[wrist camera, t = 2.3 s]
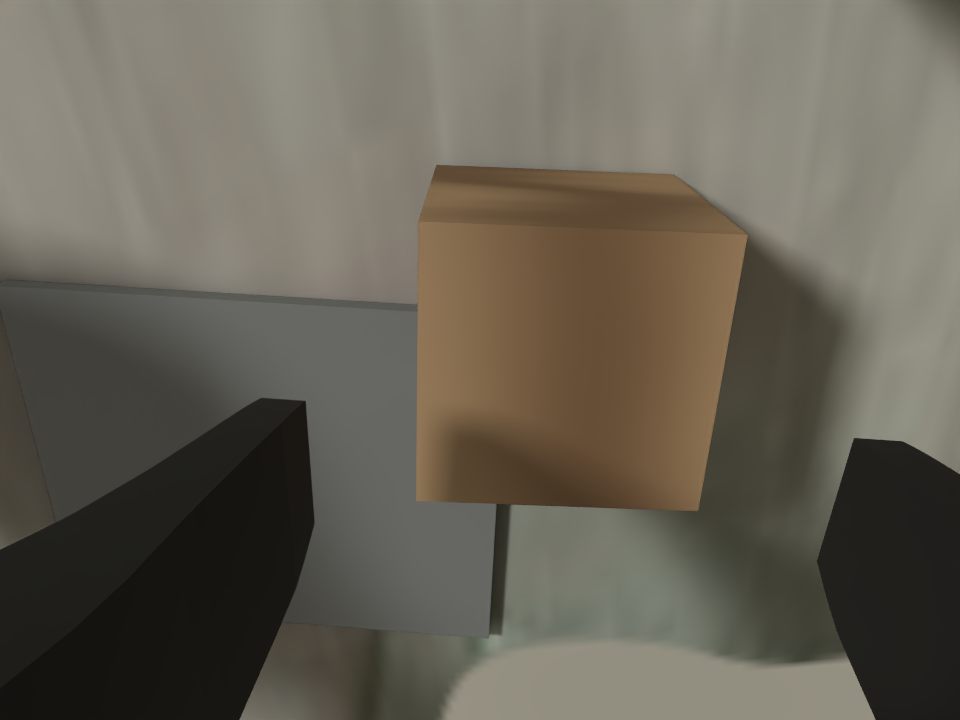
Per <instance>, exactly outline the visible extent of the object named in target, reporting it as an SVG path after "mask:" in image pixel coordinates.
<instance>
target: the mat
mask: <svg viewBox="0 0 960 720" xmlns="http://www.w3.org/2000/svg"><path fill="white" fill-rule="evenodd" d="M0 311H1V315H2V319H3V322H4V326H5V330H6V334H7V338H8V341H9V345H10V349H11V353H12V357H13V360H14V364H15V368H16V372H17V376H18V380H19V383H20V387H21V391H22V395H23V399H24V402H25V406H26V410H27V414H28V418H29V421H30V425H31V429H32V433H33V437H34V441H35V444H36V448H37V452H38V456H39V460H40V463H41V467H42V471H43V475H44V479H45V483H46V486H47V490H48V494H49V498H50V502H51V505H52V509H53V513H54V517H55V521H56V522H58V521H60V520H62V519H64V518H65V517H67V516H69V515H71V514H73V513H75V512H77V511H78V510H80V509H82V508H84V507H85V506H87V505H89V504H90V503H92V502H94V501H96V500H97V499H99V498H101V497H102V496H104V495H106V494H108V493H109V492H111V491H113V490H114V489H116V488H118V487H120V486H121V485H123V484H125V483H126V482H128V481H130V480H131V479H133V478H135V477H137V476H138V475H140V474H142V473H143V472H145V471H147V470H148V469H150V468H152V467H153V466H155V465H156V464H158V463H159V462H161V461H163V460H164V459H166V458H167V457H169V456H170V455H172V454H173V453H175V452H177V451H178V450H180V449H181V448H183V447H184V446H186V445H187V444H189V443H190V442H192V441H194V440H195V439H197V438H198V437H200V436H201V435H203V434H204V433H206V432H207V431H209V430H210V429H212V428H213V427H215V426H216V425H218V424H219V423H221V422H222V421H224V420H225V419H227V418H229V417H230V416H232V415H233V414H235V413H236V412H238V411H239V410H241V409H243V408H244V407H246V406H247V405H249V404H251V403H253V402H254V401H256V400H258V399H260V398H272V399H286V400H301V401H306V411H307V425H308V438H309V452H310V465H311V479H312V493H313V506H314V520H315V524H314V528H313V531H312V535H311V539H310V542H309V546H308V550H307V554H306V557H305V561H304V564H303V567H302V571H301V574H300V577H299V581H298V584H297V588H296V590H295V592H294V595H293V597H292V600H291V602H290V604H289V607H288V609H287V611H286V614H285V616H284V618H283V621H282V622H286V623H299V624H312V625H324V626H337V627H350V628H362V629H375V630H388V631H401V632H413V633H426V634H439V635H451V636H464V637H477V638H489V626H490V608H491V591H492V574H493V557H494V540H495V523H496V506H497V504H485V503H457V502H429V501H416V453H417V331H418V305H411V304H395V303H378V302H362V301H346V300H329V299H313V298H296V297H280V296H264V295H247V294H231V293H214V292H198V291H182V290H165V289H149V288H132V287H116V286H99V285H83V284H67V283H50V282H34V281H17V280H3V281H1V282H0Z"/></svg>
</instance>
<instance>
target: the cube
mask: <svg viewBox="0 0 960 720" xmlns="http://www.w3.org/2000/svg"><path fill="white" fill-rule="evenodd" d="M747 237H748V234H746V233H745V232H744V231H743V230H741V229H740V228H739V227H738V226H736V225H735V224H734V223H733V222H732V221H730V220H729V219H728V218H727V217H725V216H724V215H723V214H722V213H721V212H719V211H718V210H717V209H716V208H714V207H713V206H712V205H711V204H709V203H708V202H707V201H706V200H705V199H703V198H702V197H701V196H700V195H698V194H697V193H696V192H695V191H694V190H692V189H691V188H690V187H689V186H687V185H686V184H685V183H684V182H682V181H681V180H680V179H679V178H678V177H676V176H675V175H668V174H644V173H620V172H595V171H571V170H546V169H522V168H497V167H473V166H449V165H436V168H435V171H434V175H433V178H432V181H431V184H430V187H429V190H428V193H427V196H426V199H425V203H424V206H423V209H422V212H421V215H420V218H419V221H418V331H417V453H416V501H429V502H457V503H485V504H513V505H541V506H569V507H597V508H625V509H653V510H681V511H698V509H699V504H700V498H701V492H702V487H703V481H704V476H705V470H706V465H707V459H708V454H709V448H710V442H711V437H712V431H713V426H714V420H715V415H716V409H717V404H718V398H719V392H720V387H721V381H722V376H723V370H724V365H725V359H726V354H727V348H728V342H729V337H730V331H731V326H732V320H733V315H734V309H735V304H736V298H737V292H738V287H739V281H740V276H741V270H742V265H743V259H744V254H745V248H746V242H747Z"/></svg>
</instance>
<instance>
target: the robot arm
mask: <svg viewBox="0 0 960 720" xmlns="http://www.w3.org/2000/svg"><path fill="white" fill-rule="evenodd" d="M314 524H315V520H314V506H313V493H312V479H311V465H310V452H309V438H308V425H307V411H306V401H301V400H286V399H272V398H260V399H258V400H256V401H254V402H253V403H251V404H249V405H247V406H246V407H244V408H243V409H241V410H239V411H238V412H236V413H235V414H233V415H232V416H230V417H229V418H227V419H225V420H224V421H222V422H221V423H219V424H218V425H216V426H215V427H213V428H212V429H210V430H209V431H207V432H206V433H204V434H203V435H201V436H200V437H198V438H197V439H195V440H194V441H192V442H190V443H189V444H187V445H186V446H184V447H183V448H181V449H180V450H178V451H177V452H175V453H173V454H172V455H170V456H169V457H167V458H166V459H164V460H163V461H161V462H159V463H158V464H156V465H155V466H153V467H152V468H150V469H148V470H147V471H145V472H143V473H142V474H140V475H138V476H137V477H135V478H133V479H131V480H130V481H128V482H126V483H125V484H123V485H121V486H120V487H118V488H116V489H114V490H113V491H111V492H109V493H108V494H106V495H104V496H102V497H101V498H99V499H97V500H96V501H94V502H92V503H90V504H89V505H87V506H85V507H84V508H82V509H80V510H78V511H77V512H75V513H73V514H71V515H69V516H67V517H65V518H64V519H62V520H60V521H58V522H56V523H54V524H52V525H50V526H48V527H46V528H44V529H42V530H40V531H38V532H36V533H34V534H32V535H30V536H28V537H26V538H24V539H22V540H20V541H18V542H16V543H13V544H11V545H9V546H7V547H5V548H3V549H1V550H0V720H239V719H240V717H241V715H242V712H243V710H244V708H245V706H246V703H247V701H248V699H249V696H250V694H251V692H252V690H253V687H254V685H255V683H256V680H257V678H258V676H259V674H260V671H261V669H262V667H263V665H264V662H265V660H266V658H267V655H268V653H269V651H270V649H271V646H272V644H273V642H274V639H275V637H276V635H277V632H278V630H279V628H280V625H281V623H282V621H283V618H284V616H285V614H286V611H287V609H288V607H289V604H290V602H291V600H292V597H293V595H294V592H295V590H296V588H297V584H298V581H299V577H300V574H301V571H302V567H303V564H304V561H305V557H306V554H307V550H308V546H309V542H310V539H311V535H312V531H313V528H314ZM817 563H818V566H819V570H820V574H821V578H822V581H823V585H824V589H825V593H826V597H827V600H828V603H829V607H830V610H831V613H832V617H833V620H834V623H835V626H836V630H837V632H838V635H839V637H840V640H841V642H842V644H843V647H844V649H845V651H846V654H847V656H848V658H849V660H850V663H851V665H852V667H853V670H854V672H855V674H856V676H857V679H858V681H859V683H860V686H861V687H862V690H863V692H864V694H865V696H866V699H867V701H868V703H869V706H870V708H871V710H872V712H873V714H874V717H875V719H876V720H960V474H958V473H957V472H955V471H953V470H952V469H950V468H949V467H947V466H945V465H944V464H942V463H940V462H939V461H937V460H936V459H934V458H932V457H930V456H929V455H927V454H925V453H924V452H922V451H920V450H918V449H916V448H914V447H912V446H910V445H909V444H907V443H905V442H902V441H889V440H874V439H860V438H854V440H853V443H852V447H851V450H850V453H849V457H848V460H847V463H846V467H845V470H844V473H843V477H842V480H841V483H840V487H839V490H838V493H837V497H836V500H835V503H834V506H833V510H832V513H831V516H830V520H829V523H828V526H827V530H826V533H825V536H824V540H823V543H822V546H821V550H820V553H819V556H818V560H817Z"/></svg>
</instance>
